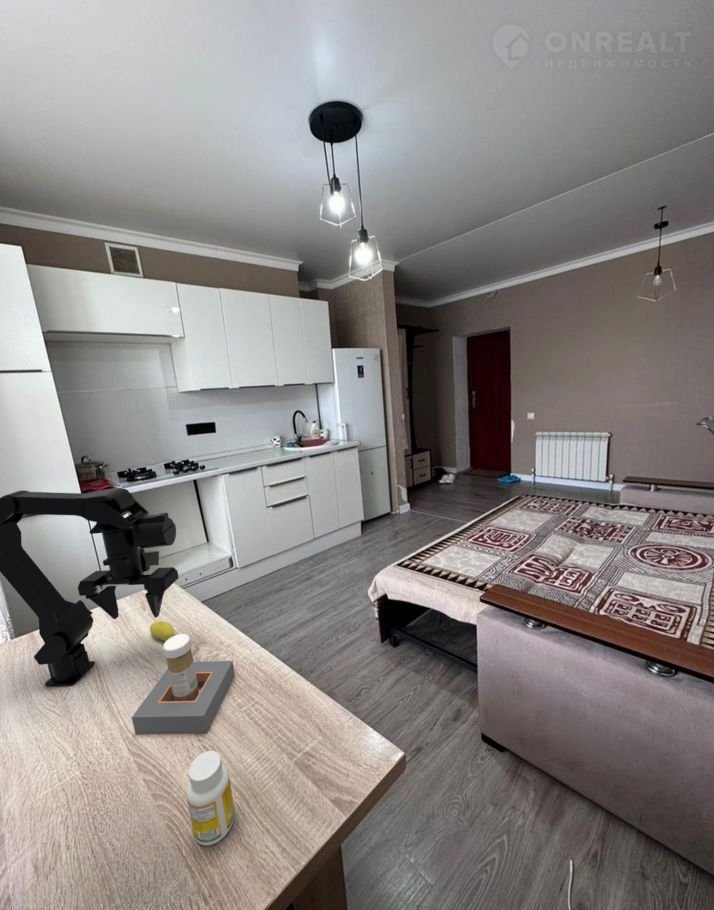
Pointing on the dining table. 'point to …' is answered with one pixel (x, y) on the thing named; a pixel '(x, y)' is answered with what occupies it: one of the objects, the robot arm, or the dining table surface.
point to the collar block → (185, 702)
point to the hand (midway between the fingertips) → (136, 617)
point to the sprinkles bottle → (181, 668)
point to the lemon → (162, 630)
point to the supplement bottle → (209, 798)
